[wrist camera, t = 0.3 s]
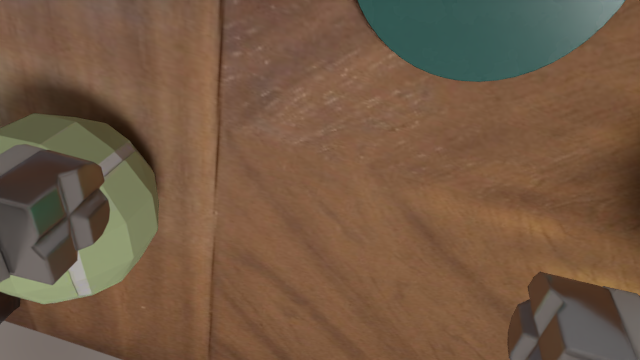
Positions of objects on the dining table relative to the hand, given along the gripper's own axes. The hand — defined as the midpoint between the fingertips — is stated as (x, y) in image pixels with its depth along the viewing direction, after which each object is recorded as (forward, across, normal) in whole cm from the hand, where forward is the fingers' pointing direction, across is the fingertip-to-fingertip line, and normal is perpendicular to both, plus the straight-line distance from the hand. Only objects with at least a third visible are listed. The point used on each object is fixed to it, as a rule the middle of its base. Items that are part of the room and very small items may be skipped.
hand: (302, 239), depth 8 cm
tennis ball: (+26, +24, +20) cm, 40 cm away
